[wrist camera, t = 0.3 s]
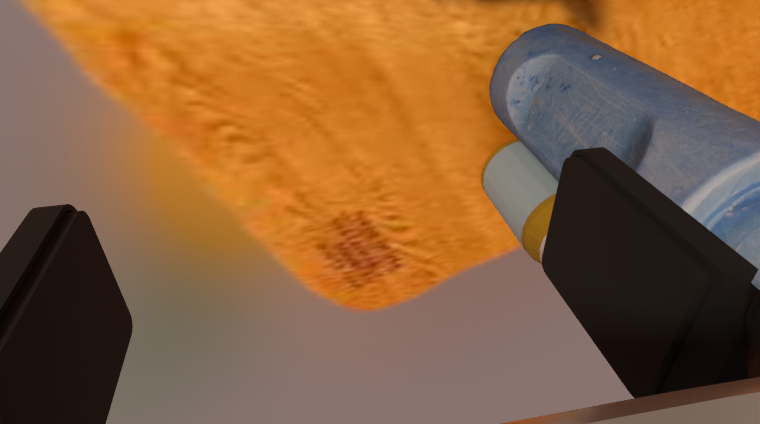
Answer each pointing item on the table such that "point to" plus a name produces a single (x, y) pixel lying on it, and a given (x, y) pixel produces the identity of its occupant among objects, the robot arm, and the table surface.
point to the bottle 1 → (521, 193)
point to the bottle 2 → (634, 127)
